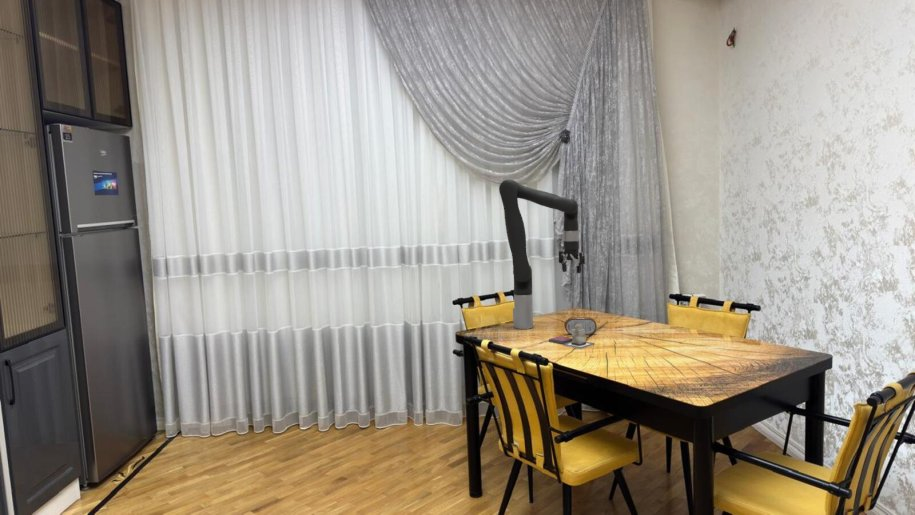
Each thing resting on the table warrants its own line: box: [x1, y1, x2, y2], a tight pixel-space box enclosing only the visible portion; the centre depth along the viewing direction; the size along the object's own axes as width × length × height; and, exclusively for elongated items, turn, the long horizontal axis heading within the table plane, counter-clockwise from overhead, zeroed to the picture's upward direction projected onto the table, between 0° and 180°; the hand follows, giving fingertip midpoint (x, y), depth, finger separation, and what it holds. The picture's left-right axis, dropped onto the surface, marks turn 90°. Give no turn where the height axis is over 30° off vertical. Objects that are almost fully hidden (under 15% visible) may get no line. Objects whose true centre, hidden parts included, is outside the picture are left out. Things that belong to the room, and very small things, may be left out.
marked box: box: [562, 341, 596, 350], centre depth 270 cm, size 10×10×1 cm
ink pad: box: [548, 335, 572, 345], centre depth 278 cm, size 8×8×1 cm
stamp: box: [571, 324, 587, 346], centre depth 270 cm, size 5×5×9 cm
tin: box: [564, 316, 597, 336], centre depth 289 cm, size 15×3×8 cm, turn 84°
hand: (571, 272), depth 299 cm, fingers open, 8 cm apart
